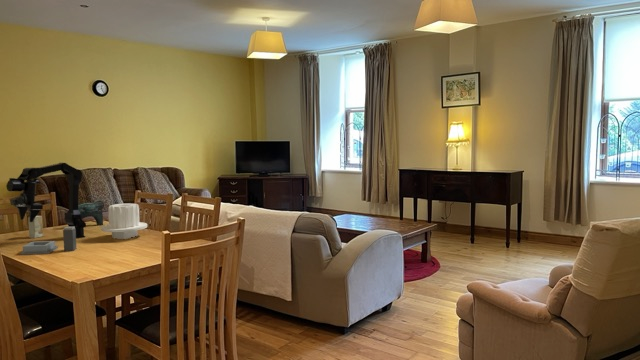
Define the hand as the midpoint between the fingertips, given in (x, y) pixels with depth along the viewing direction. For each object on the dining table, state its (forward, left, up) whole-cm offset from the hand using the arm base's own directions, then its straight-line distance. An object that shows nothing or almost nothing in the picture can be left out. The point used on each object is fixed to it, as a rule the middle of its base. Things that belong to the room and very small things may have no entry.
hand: (26, 220), depth 252 cm
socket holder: (0, +15, -14) cm, 21 cm away
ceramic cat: (-48, -35, -14) cm, 61 cm away
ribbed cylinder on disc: (-46, +16, -14) cm, 50 cm away
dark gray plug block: (-12, +25, -14) cm, 31 cm away
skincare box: (-13, -25, -14) cm, 31 cm away
